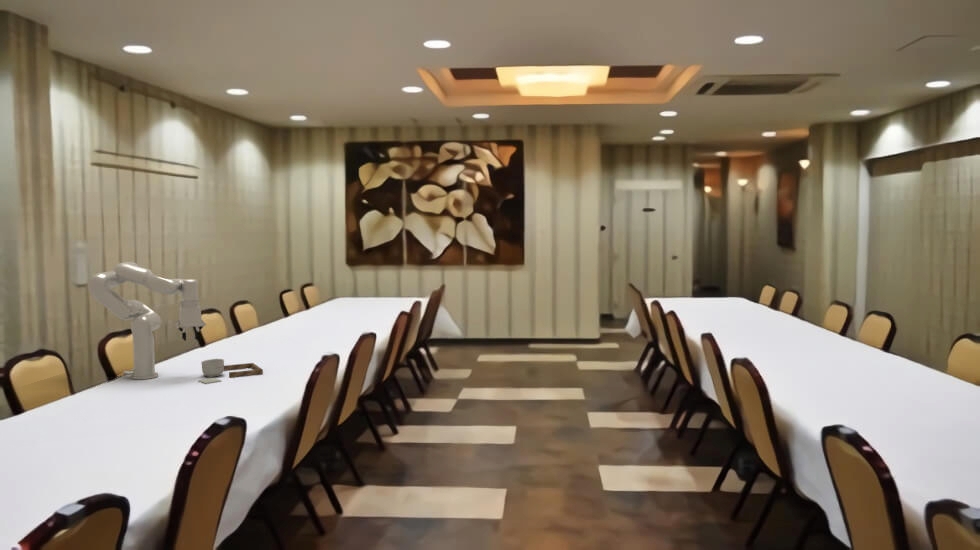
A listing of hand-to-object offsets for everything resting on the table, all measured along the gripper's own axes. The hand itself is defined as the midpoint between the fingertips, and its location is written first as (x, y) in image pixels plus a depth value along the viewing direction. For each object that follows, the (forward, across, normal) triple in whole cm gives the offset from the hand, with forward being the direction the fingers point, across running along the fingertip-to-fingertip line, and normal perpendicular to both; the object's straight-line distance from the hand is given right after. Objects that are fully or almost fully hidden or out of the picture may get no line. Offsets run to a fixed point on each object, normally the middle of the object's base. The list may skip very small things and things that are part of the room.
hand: (190, 339), depth 356 cm
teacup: (+20, +11, 0) cm, 22 cm away
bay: (+19, +24, 0) cm, 31 cm away
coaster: (+20, +6, -14) cm, 25 cm away
